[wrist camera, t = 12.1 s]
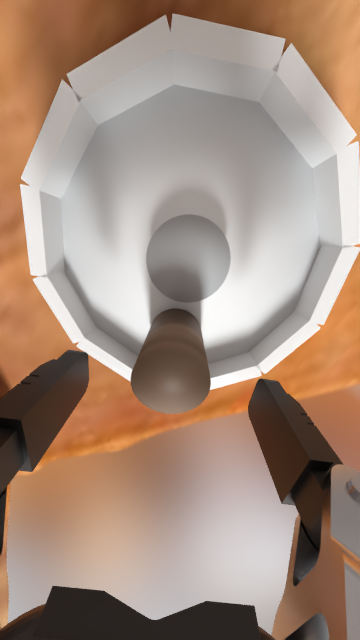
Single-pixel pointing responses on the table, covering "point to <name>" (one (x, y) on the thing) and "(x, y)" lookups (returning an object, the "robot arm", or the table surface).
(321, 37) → the table surface
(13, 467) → the robot arm
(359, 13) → the table surface
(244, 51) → the ring tray
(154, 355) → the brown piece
